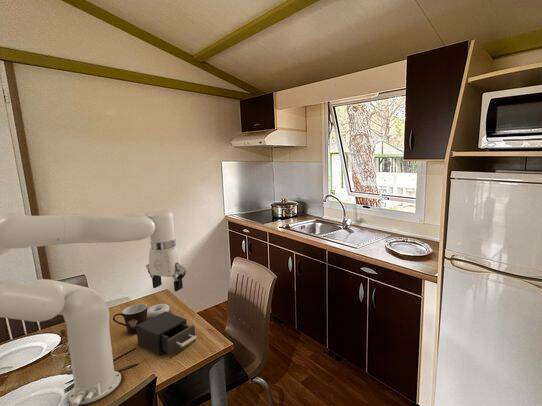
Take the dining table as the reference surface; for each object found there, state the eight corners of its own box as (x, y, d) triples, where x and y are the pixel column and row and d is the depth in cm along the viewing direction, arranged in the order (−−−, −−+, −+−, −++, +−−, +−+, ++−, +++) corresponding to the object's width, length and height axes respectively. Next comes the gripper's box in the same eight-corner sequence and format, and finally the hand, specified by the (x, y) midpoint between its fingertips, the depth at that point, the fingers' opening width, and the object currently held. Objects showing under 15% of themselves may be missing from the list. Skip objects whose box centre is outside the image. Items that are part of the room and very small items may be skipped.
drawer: (202, 344, 109) (201, 328, 108) (177, 360, 100) (176, 343, 99) (175, 332, 116) (174, 317, 115) (149, 347, 107) (148, 331, 106)
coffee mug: (154, 325, 123) (152, 304, 121) (138, 337, 114) (135, 315, 113) (130, 323, 124) (128, 302, 122) (112, 334, 115) (110, 312, 114)
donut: (174, 312, 133) (163, 306, 138) (173, 306, 132) (162, 300, 137) (151, 322, 124) (140, 315, 130) (150, 315, 124) (140, 309, 129)
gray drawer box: (187, 338, 114) (186, 319, 113) (159, 355, 104) (157, 335, 102) (167, 329, 120) (165, 311, 118) (138, 345, 109) (136, 325, 108)
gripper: (134, 245, 98) (140, 289, 101) (174, 249, 94) (178, 295, 97) (153, 239, 105) (158, 281, 108) (191, 243, 101) (195, 286, 104)
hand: (168, 288), depth 102 cm, fingers open, 9 cm apart
